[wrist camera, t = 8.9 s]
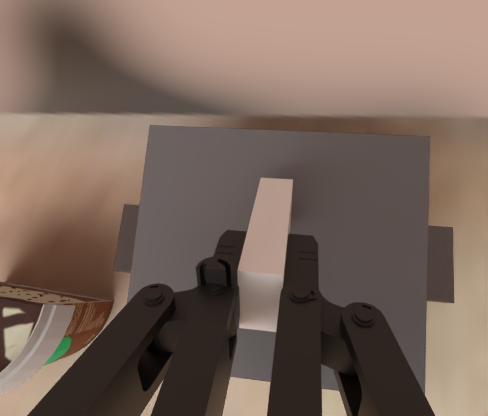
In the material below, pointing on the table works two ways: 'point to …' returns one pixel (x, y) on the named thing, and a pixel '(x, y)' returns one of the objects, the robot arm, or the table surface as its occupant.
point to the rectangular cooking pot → (437, 259)
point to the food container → (43, 329)
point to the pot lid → (294, 220)
